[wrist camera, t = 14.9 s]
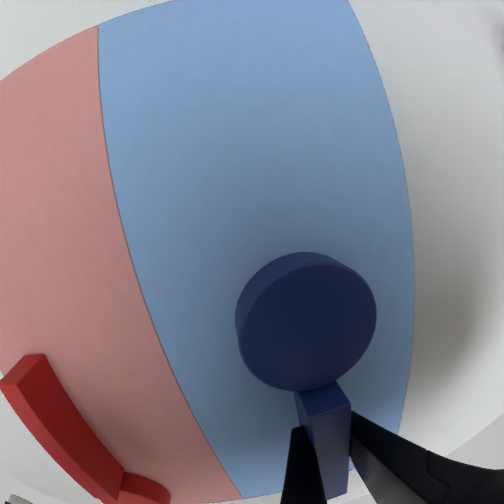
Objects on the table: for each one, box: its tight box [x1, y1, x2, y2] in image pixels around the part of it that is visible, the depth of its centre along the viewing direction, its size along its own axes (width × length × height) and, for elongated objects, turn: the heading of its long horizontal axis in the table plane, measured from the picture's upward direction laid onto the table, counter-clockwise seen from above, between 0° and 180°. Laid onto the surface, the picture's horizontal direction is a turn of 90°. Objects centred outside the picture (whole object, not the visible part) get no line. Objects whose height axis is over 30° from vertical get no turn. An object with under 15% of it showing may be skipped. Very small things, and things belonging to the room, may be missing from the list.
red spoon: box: [0, 354, 171, 504], centre depth 7 cm, size 10×4×2 cm, turn 12°
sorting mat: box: [0, 0, 414, 504], centre depth 7 cm, size 20×16×1 cm
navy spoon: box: [235, 252, 377, 500], centre depth 7 cm, size 10×4×2 cm, turn 12°
